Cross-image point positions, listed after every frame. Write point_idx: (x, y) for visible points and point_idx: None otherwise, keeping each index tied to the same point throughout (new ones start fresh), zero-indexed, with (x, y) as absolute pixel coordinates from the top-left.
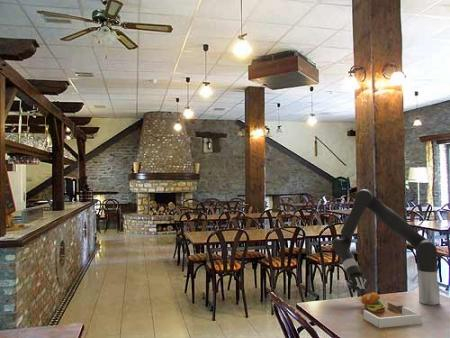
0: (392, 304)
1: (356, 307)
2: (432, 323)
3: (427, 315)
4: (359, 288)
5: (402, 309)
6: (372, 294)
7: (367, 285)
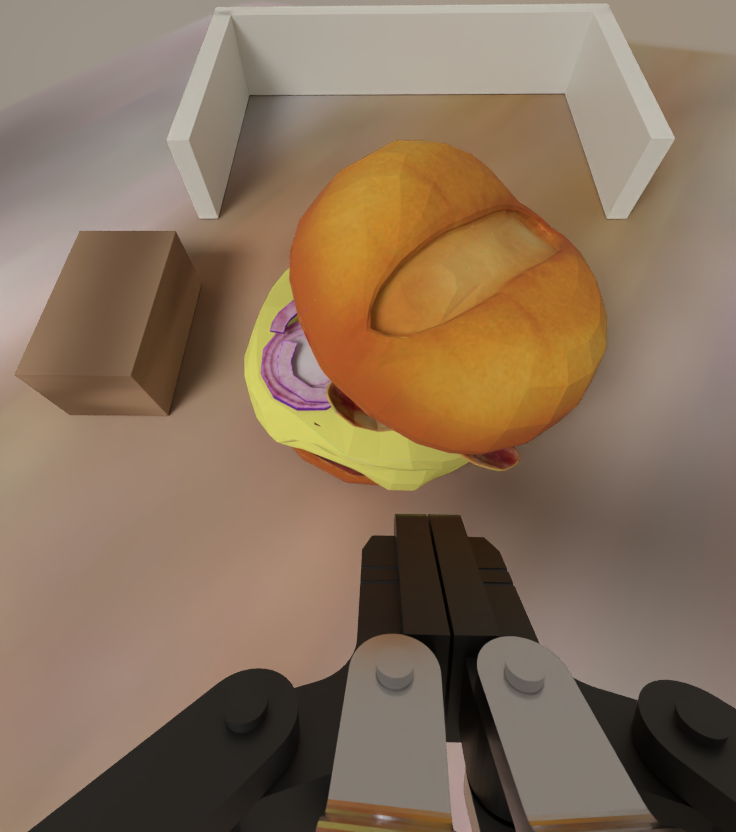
0: (158, 288)
1: (570, 547)
2: (167, 80)
3: (28, 177)
4: (571, 700)
5: (199, 164)
6: (465, 164)
7: (122, 769)
